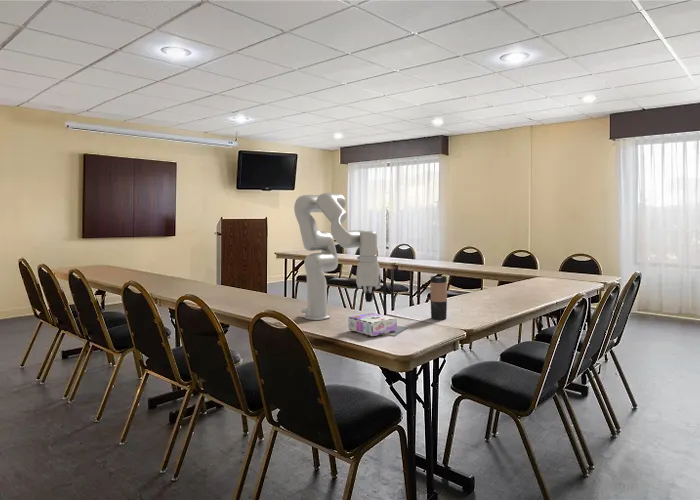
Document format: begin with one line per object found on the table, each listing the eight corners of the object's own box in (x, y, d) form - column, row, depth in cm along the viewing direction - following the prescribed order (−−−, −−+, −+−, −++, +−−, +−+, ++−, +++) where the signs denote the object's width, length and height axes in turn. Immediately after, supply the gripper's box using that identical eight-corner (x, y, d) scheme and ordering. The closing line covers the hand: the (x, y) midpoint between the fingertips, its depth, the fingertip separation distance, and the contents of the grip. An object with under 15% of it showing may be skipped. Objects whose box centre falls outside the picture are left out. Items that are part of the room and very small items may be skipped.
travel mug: (449, 319, 235) (449, 277, 234) (435, 320, 233) (435, 278, 231) (442, 316, 242) (442, 275, 241) (427, 317, 240) (427, 276, 238)
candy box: (348, 330, 215) (371, 336, 201) (347, 316, 214) (371, 322, 201) (373, 325, 223) (397, 331, 209) (373, 312, 222) (397, 317, 209)
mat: (357, 332, 212) (357, 330, 212) (372, 324, 226) (372, 323, 226) (395, 336, 205) (395, 334, 205) (408, 327, 219) (408, 326, 219)
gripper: (349, 260, 216) (349, 301, 217) (381, 260, 210) (381, 304, 211) (356, 258, 223) (357, 299, 224) (387, 259, 216) (388, 301, 218)
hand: (369, 301), depth 218 cm, fingers closed
